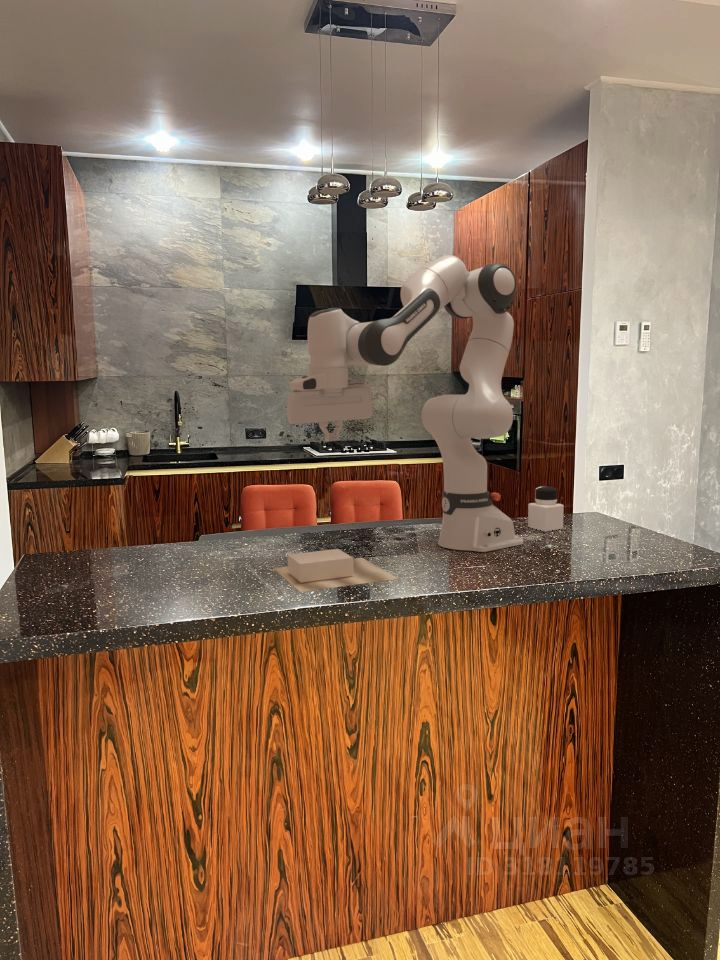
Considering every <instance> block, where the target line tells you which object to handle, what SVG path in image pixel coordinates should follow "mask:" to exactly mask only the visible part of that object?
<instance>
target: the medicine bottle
mask: <svg viewBox="0 0 720 960" xmlns="http://www.w3.org/2000/svg"><path fill="white" fill-rule="evenodd" d="M534 495H535V496H534V501H535V502H531V503H530V502H529V503H528V506H527V507H528V509H527V515H528V516H527V527H530V528H529V529H532V528H533V529H532V530H536V529H537V530H538V531H540V530H541V531H540V532H545V533H546V532H547V533H548V532H553V531H559V529H560V530H564V510H565V509H564V504H562V503H557V502H558V489H557V488H556V487H553V486H538V487H536V488H535V493H534ZM552 530H553V531H552Z"/></svg>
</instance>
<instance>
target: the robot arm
mask: <svg viewBox="0 0 720 960" xmlns="http://www.w3.org/2000/svg"><path fill="white" fill-rule="evenodd" d="M516 281H517V279H516V277H515V274H514V272H513V271H512V269H511V268H510V267H509V266H508V265H507V264H505V263H502V262H501V263H499V262H498V263H497V262H496V263H495V262H493V263H489V264H487V265H485V266H482V267H479V268H476V269H473V270H470V271H469V270H468V269H467V267H466V264H465V263H464V261H462V260H461V258H459V257H458V256H456V255H453V254H446V255H443V256H442V255H441V256H440V257H438V258H435V259H434V260H432V261H430V262H428V263H426V264H424V266H421V268H418V269H417V270H416V271H415V272H414V273H412V274H411V275H410V276H409V277H408V278H407V279H406V280H405V282H404V283H402V285H401V288H400V301H401V303H402V308H401V309H400V310H399V311H398V312H396V313H395V314H394V315H393V316H392V317H390V318H382V319H378V320H373V321H366V322H360V321H359V320H356V319H353V318H351V317H350V316H349V315H347V314H346V313H345V312H344V311H343V310H342V309H341V308H340V307H331V308H327V309H326V308H325V309H321V310H317V311H314V312H313V313H311V314H310V315H309V317H308V322H307V351H308V353H309V363H308V364H309V365H308V374H306V375H304V376H301V377H298V378H296V379H293V380H291V381H290V382H289V384H288V385H289V389H290V390H291V391H290V393H289V394H288V396H287V401H286V420H287V421H288V422H289V424H292V425H302V424H315V423H317V424H318V425H319V426H318V427H319V428H320V430H321V432H322V433H323V435H324V441H325V442H327V443H329V442H338V441H339V440H340V437H339V436H340V435H339V434H340V432H341V430H342V428H343V426H344V423H343V422H344V421H355V420H365V419H366V420H367V419H371V417H372V416H373V413H374V411H373V405H372V404H373V403H372V398H371V394H372V393H371V392H372V391H371V383H369V382H368V381H367V380H365V379H362V378H360V379H349V373H348V372H349V371H348V364H349V365H352V366H365V365H367V366H368V365H369V366H370V365H374V366H380V367H381V366H382V367H386V366H390V365H392V364H394V363H395V362H397V360H398V359H399V358H400V357H401V356H402V353H403V352H404V350H405V348H406V347H407V345H408V343H409V341H411V339H412V338H413V337H414V336H415V335H416V334H417V333H418V332H420V330H422V329H423V328H424V327H425V325H426V324H428V323H429V322H430V321H431V320H432V319H433V318H434V317H435V315H437V313H438V312H439V311H441V310H442V309H443V308H444V309H445V311H446V312H447V314H449V315H450V316H451V317H452V318H455V319H460V320H461V319H463V320H464V319H469V318H471V317H472V322H473V324H472V331H471V333H470V335H469V337H468V339H467V343H466V347H465V349H464V352H463V355H462V358H461V360H460V364H459V372H460V376H461V378H462V379H463V380H464V381H465V382H466V383H467V384H468V391H467V392H466V393H465V394H441V395H437V396H434V397H431V398H428V399H427V400H426V401H425V403H424V404H423V407H422V409H421V422H422V425H423V427H424V429H425V430H426V431H427V432H428V433H429V434H430V435H431V437H433V439H434V441H435V442H436V444H437V446H438V449H439V452H440V455H441V459H442V465H443V466H442V467H443V490H442V496H441V508H442V522H441V526H440V527H441V529H440V532H439V533H440V534H439V537H438V541H437V545H438V546H440V547H442V548H446V549H448V550H449V549H450V550H458V551H473V552H480V553H481V552H482V553H486V552H490V551H496V550H501V549H505V548H509V547H510V548H511V547H515V546H520V545H524V544H525V543H524V539H523V538H522V537H520V536H518V535H516V532H515V527H514V523H513V520H512V519H511V517H509V516H508V515H506V514H505V513H504V512H503V511H501V510H500V509H499V508H498V507H497V506H495V505H494V503H493V501H496V502H499V501H500V500H501V497H502V496H501V494H500V493H499V492H491V491H488V463H487V462H488V461H487V460H486V459H485V457H484V456H483V455H481V454H480V453H479V452H478V451H477V450H476V449H475V447H474V445H473V442H472V439H482V440H487V439H493V438H498V437H503V436H505V435H506V434H507V433H508V432H509V431H510V429H511V427H512V425H513V420H514V412H513V407H512V406H511V404H510V402H509V401H508V400H507V399H506V398H505V396H504V394H503V391H502V378H503V375H504V371H505V367H506V363H507V360H508V356H509V353H510V351H511V347H512V343H513V336H514V327H515V321H514V318H513V316H512V315H511V314H510V313H509V312H508V311H509V310H510V309H511V308H512V307H513V305H514V303H515V301H514V298H515V297H516V296H515V295H516V291H517V282H516ZM330 422H331V423H332V422H333V426H335V428H334V430H333V431H332V432H329V430H328V429H327V428H328V426H329V423H330Z"/></svg>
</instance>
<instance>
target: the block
mask: <svg viewBox="0 0 720 960" xmlns="http://www.w3.org/2000/svg"><path fill="white" fill-rule="evenodd" d="M353 559H354V557H353V556H351V555H349V554H347V552H344V551H343V550H341V549H339V548H334V549H325V550H324V549H323V550H316V551H305V552H297V553H290V554H289V553H288V554H287V567H288V573H290V574H291V575H292V576H293V577H294V578H296V579H297V580H298V581H299V582H300V583H307V582H315V581H322V580H330V579H338V578H345V577H352V576H354V574H353Z"/></svg>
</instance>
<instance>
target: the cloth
mask: <svg viewBox="0 0 720 960" xmlns="http://www.w3.org/2000/svg"><path fill="white" fill-rule="evenodd" d="M273 570H274V571H275V572H276V573H278V574H279V575H280V576H281V577H282V578H283V579H284V580H286V581H287V582H288V583H289V584H290V585H291V586H293V587H294V589H296V590H298V592H299V593H303V592H313V591H321V590H327V589H334V588H341V587H349V586H356V585H361V584H362V585H363V584H364V585H365V584H371V583H378V582H386V581H392V580H399V578H398V577H397V576H395V575H393V574H392V573H389V572H388V571H386V570H384V569H383V568H382V567H379V566H377V565H376V564H374V563H373V562H371V561H369V560H368V559H365V558H363V557H356V558H354V557H353V574H354V576H352V577H345V578H338V579H330V580H322V581H315V582H307V583H300V582H299V581H298V580H297V579H296V578H294V577H293V576H292V575H291V574H290V573H288V566H281V567H274V568H273Z"/></svg>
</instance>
